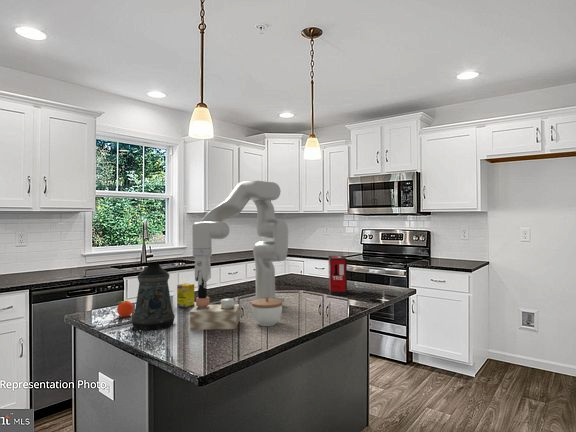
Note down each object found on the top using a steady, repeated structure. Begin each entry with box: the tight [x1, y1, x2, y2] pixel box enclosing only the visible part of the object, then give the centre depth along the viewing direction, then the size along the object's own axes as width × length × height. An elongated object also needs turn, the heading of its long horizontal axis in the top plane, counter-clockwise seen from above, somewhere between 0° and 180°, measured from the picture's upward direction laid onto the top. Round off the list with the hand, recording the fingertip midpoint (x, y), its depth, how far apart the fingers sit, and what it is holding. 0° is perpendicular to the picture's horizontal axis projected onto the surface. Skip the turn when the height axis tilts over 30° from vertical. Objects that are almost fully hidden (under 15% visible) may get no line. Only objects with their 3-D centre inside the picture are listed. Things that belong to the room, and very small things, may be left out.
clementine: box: [116, 300, 135, 318], centre depth 177 cm, size 8×7×7 cm
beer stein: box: [131, 262, 175, 332], centre depth 163 cm, size 16×19×25 cm
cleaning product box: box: [328, 255, 348, 296], centre depth 228 cm, size 16×9×20 cm, turn 178°
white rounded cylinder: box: [220, 298, 235, 309], centre depth 162 cm, size 5×5×9 cm
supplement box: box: [176, 282, 195, 309], centre depth 195 cm, size 6×6×11 cm
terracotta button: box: [195, 296, 210, 310], centre depth 162 cm, size 5×5×9 cm
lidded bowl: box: [251, 297, 283, 327], centre depth 163 cm, size 13×13×11 cm
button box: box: [189, 303, 240, 331], centre depth 162 cm, size 18×12×7 cm, turn 91°
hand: (202, 297), depth 162 cm, fingers closed
